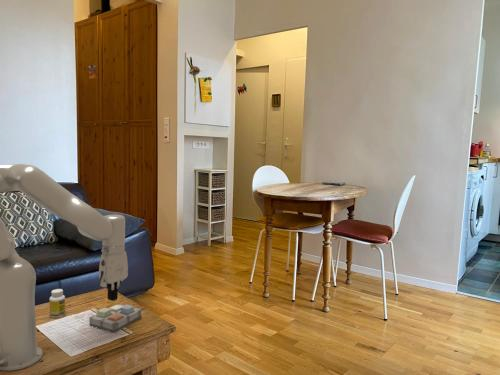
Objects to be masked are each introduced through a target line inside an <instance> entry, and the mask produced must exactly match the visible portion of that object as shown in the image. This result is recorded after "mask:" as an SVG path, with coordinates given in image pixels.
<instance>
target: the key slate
mask: <svg viewBox="0 0 500 375" xmlns="http://www.w3.org/2000/svg"><path fill="white" fill-rule="evenodd" d="M134 308H135V306H134V305H131V304H130V305H129V304H125V306H123V307H121V314H125V315H129V314H131V313H133V312H134Z"/></svg>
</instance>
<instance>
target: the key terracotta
mask: <svg viewBox="0 0 500 375" xmlns="http://www.w3.org/2000/svg"><path fill="white" fill-rule="evenodd" d="M122 318H123V315H119V314H114V315H112V316H110V317H109V320H111V321H115V322H116V321H118V320H120V319H122Z"/></svg>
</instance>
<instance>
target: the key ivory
mask: <svg viewBox="0 0 500 375" xmlns="http://www.w3.org/2000/svg"><path fill="white" fill-rule="evenodd" d="M112 306H113V307H112ZM112 306H110V307H111V308H110V307H109V308H110V309H111V311H113V312H118V311H120V310H121V307H123V306H119V305H116V304H115V306H114V305H112Z"/></svg>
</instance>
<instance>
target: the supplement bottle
mask: <svg viewBox="0 0 500 375" xmlns="http://www.w3.org/2000/svg"><path fill="white" fill-rule="evenodd" d="M50 294H51V296H50V297H49V317H50V318H61V317H64V316H65V315H66V295H64V290H63V289H62V288H56V289H53V290H51V293H50Z"/></svg>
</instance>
